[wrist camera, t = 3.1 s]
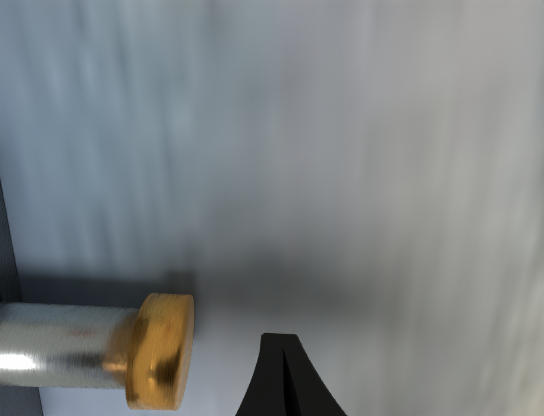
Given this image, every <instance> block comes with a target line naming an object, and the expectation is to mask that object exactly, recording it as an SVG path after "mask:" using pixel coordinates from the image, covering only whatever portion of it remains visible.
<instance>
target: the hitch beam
mask: <svg viewBox="0 0 544 416" xmlns="http://www.w3.org/2000/svg"><path fill="white" fill-rule="evenodd" d="M0 302H20V303H22V299H21V294H20V288H19V283H18V277H17V272H16V266H15V261H14V256H13V250H12V245H11V239H10V234H9V228H8V223H7V217H6V212H5V206H4V201H3V195H2V190H1V184H0ZM0 416H43V414H42V408H41V403H40V398H39V392H38V387H28V386H0Z"/></svg>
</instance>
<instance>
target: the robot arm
mask: <svg viewBox="0 0 544 416" xmlns="http://www.w3.org/2000/svg"><path fill="white" fill-rule="evenodd" d="M235 416H347V415H346V414H345V412H344V411H343V410H342V409H341V407H340V406H339V405H338V403H337V402H336V400H335V399H334V398H333V396H332V395H331V393H330V392H329V390H328V389H327V387H326V386H325V384H324V383H323V381H322V380H321V378H320V376H319V375H318V373H317V372H316V370H315V368H314V367H313V365H312V363H311V361H310V360H309V358H308V356H307V354H306V352H305V350H304V348H303V346H302V344H301V342H300V340H299V338H298V336H297V335H296V334H277V333H264V334H262V335H261V343H260V352H259V357H258V361H257V364H256V367H255V370H254V373H253V376H252V379H251V382H250V384H249V387H248V389H247V392H246V394H245V396H244V399H243V401H242V403H241V405H240V407H239V409H238V411H237V413H236V415H235Z"/></svg>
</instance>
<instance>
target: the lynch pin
mask: <svg viewBox="0 0 544 416" xmlns="http://www.w3.org/2000/svg"><path fill="white" fill-rule="evenodd" d="M193 333H194V299H193V296H192V295H183V294H164V293H151V294H149V295H148V296H147V297H146V299H145V300H144V302H143V304H142V306H141V308H124V307H103V306H82V305H61V304H41V303H20V302H0V386H28V387H62V388H95V389H125V392H126V400H127V404H128V407H129V408H130V409H132V410H172V411H176V410H178V409H179V407H180V404H181V402H182V399H183V395H184V391H185V387H186V382H187V377H188V372H189V366H190V359H191V352H192V343H193Z"/></svg>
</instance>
